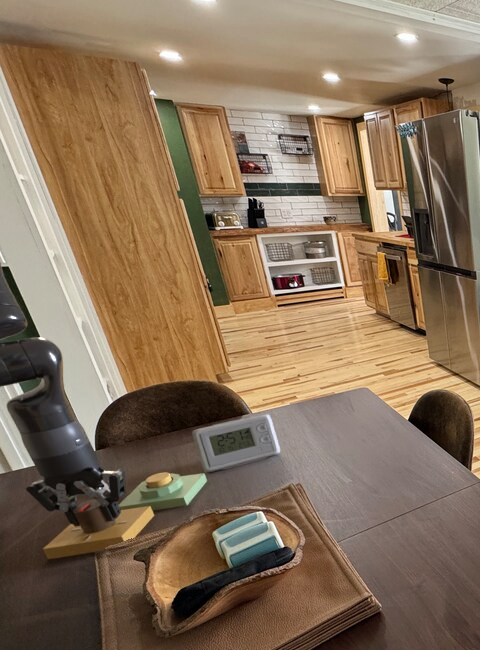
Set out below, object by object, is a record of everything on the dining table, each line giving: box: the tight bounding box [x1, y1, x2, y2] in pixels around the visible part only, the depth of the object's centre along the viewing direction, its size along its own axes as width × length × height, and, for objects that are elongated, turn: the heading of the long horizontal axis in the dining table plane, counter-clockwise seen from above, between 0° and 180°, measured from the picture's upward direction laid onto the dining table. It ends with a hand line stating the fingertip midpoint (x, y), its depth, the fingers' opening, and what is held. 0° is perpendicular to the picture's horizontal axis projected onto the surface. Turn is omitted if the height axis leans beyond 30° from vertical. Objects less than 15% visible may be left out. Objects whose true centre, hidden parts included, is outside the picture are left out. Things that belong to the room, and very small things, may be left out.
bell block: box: [118, 473, 208, 512], centre depth 106 cm, size 12×10×4 cm
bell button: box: [145, 471, 172, 489], centre depth 105 cm, size 4×4×2 cm
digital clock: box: [191, 413, 281, 473], centre depth 119 cm, size 16×9×11 cm, turn 116°
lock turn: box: [72, 498, 116, 533], centre depth 92 cm, size 5×5×5 cm
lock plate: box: [42, 506, 155, 560], centre depth 94 cm, size 12×10×3 cm
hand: (97, 520), depth 93 cm, fingers closed on lock turn, 4 cm apart
